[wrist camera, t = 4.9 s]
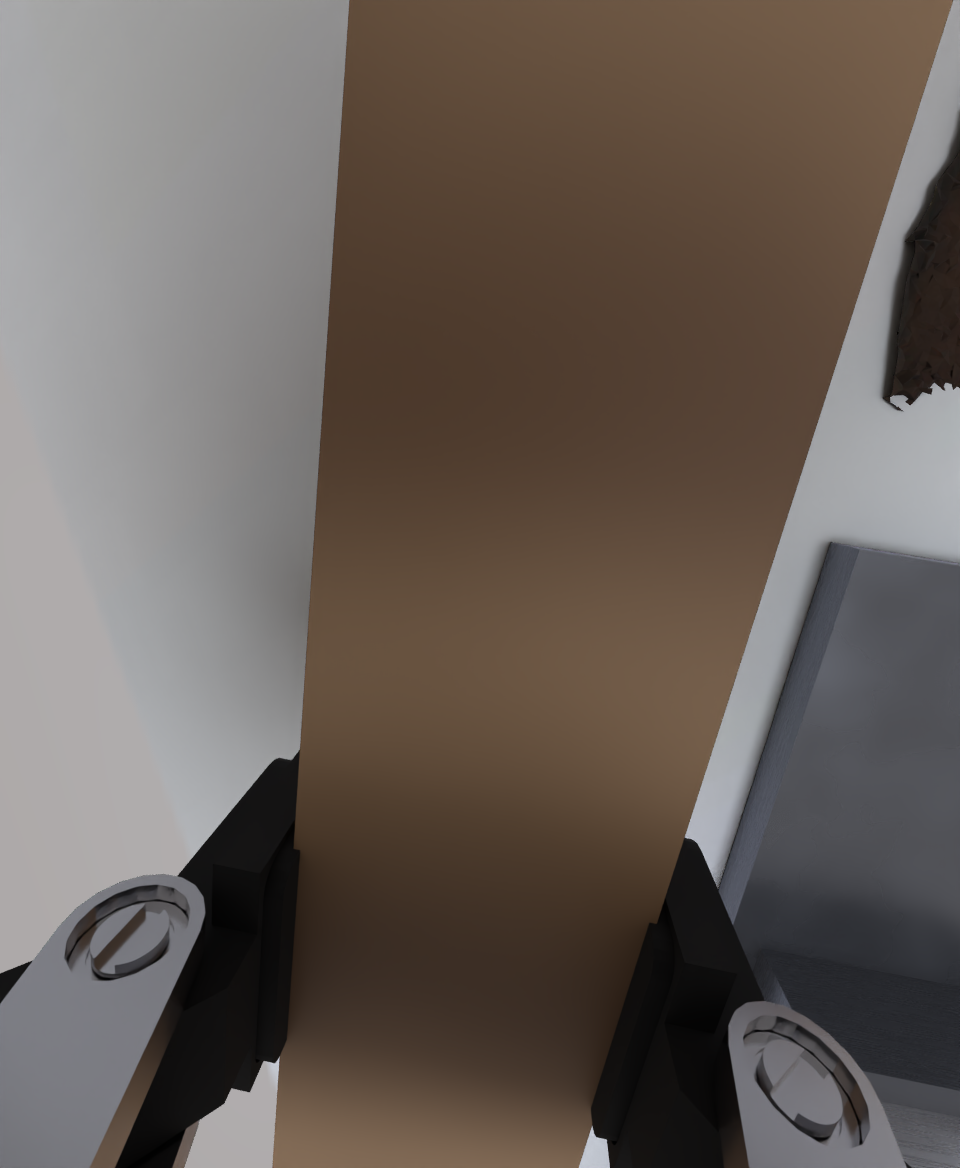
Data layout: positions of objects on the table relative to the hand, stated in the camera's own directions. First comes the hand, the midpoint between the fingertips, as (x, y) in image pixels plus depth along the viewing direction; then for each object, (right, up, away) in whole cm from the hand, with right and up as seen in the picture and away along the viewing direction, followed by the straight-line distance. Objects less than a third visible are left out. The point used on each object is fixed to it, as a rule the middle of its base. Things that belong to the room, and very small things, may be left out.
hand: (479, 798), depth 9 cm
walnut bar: (0, 0, +1) cm, 1 cm away
